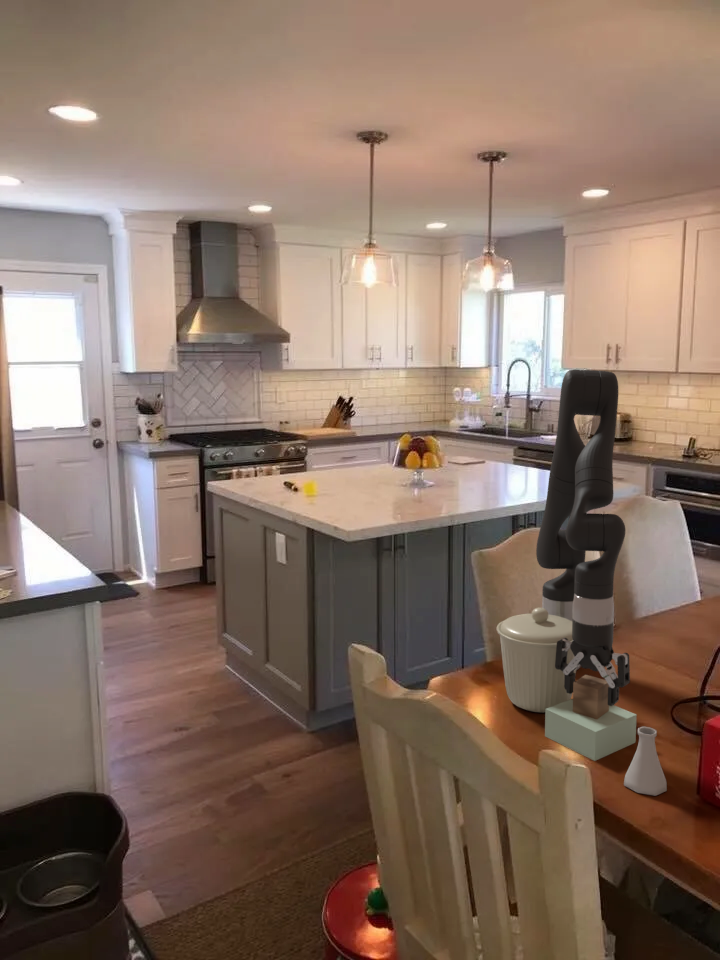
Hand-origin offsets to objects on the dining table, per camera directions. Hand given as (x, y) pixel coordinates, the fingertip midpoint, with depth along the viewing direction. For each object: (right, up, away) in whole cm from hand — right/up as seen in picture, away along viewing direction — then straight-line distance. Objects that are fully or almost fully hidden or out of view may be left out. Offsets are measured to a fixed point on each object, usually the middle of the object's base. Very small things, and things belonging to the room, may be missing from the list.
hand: (590, 698), depth 150 cm
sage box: (0, -9, +1) cm, 9 cm away
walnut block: (0, -3, +1) cm, 3 cm away
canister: (-6, -6, +18) cm, 20 cm away
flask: (+5, -11, -15) cm, 19 cm away
